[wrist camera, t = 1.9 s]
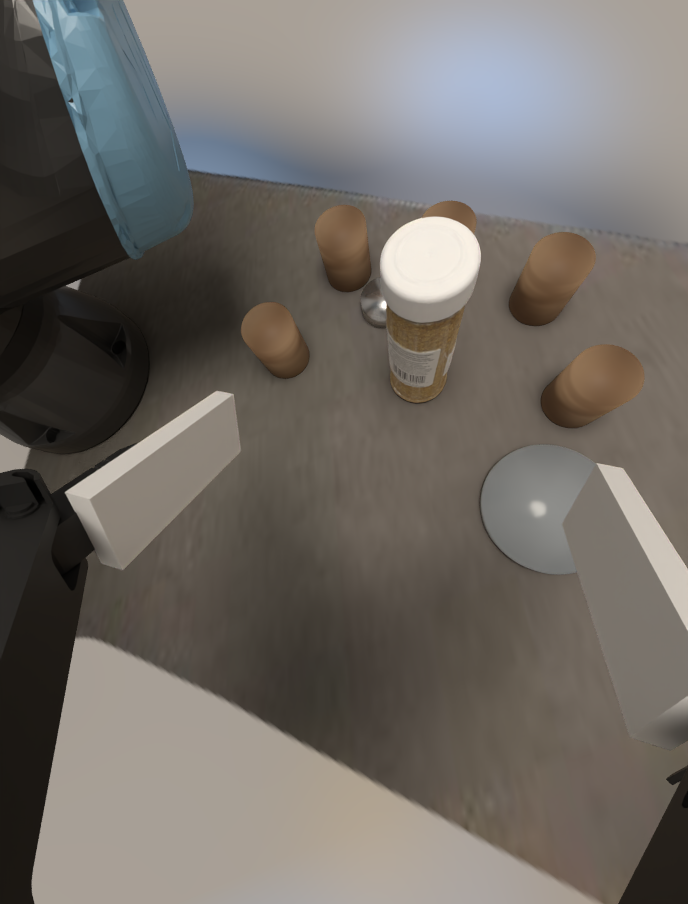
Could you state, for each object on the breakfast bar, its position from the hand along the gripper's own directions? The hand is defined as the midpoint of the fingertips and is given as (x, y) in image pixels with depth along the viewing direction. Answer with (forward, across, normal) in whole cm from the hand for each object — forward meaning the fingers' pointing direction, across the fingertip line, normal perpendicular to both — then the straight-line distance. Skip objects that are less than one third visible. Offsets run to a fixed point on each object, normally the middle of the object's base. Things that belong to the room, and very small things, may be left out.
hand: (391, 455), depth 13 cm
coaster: (+11, +10, -9) cm, 18 cm away
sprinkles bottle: (+17, 0, -3) cm, 17 cm away
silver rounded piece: (+21, -4, +1) cm, 22 cm away
